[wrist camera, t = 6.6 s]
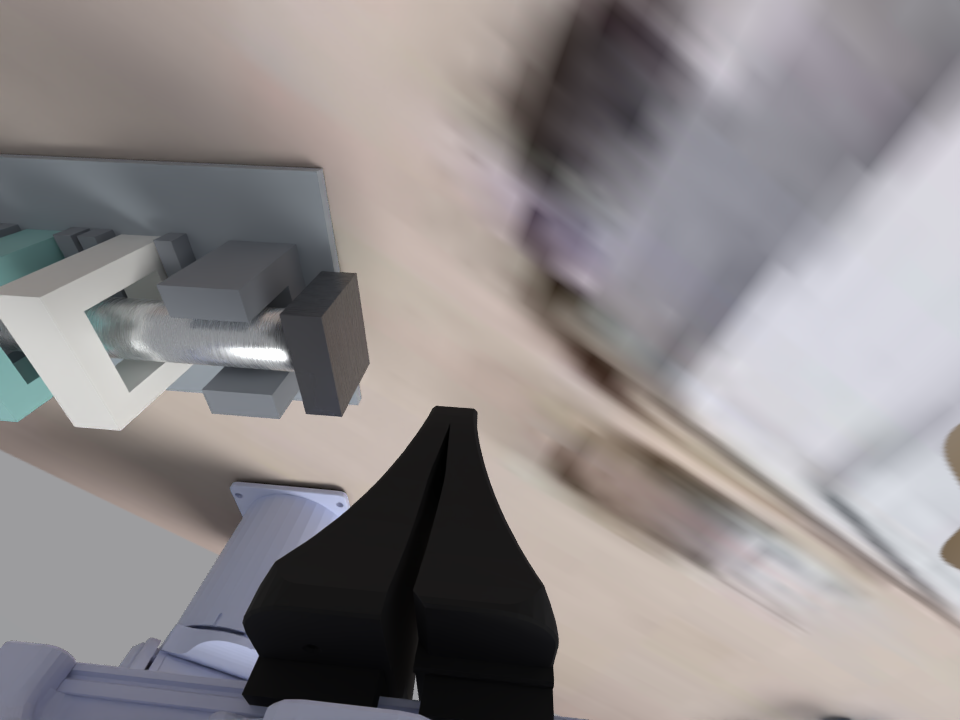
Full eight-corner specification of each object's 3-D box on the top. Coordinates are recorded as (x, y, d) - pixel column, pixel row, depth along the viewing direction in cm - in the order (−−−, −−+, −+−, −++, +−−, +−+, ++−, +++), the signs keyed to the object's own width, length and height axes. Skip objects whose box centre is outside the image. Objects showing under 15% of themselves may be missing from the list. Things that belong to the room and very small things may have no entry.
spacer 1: (126, 344, 23) (17, 421, 18) (91, 341, 23) (-28, 418, 18) (68, 231, 20) (-86, 289, 15) (26, 228, 20) (-141, 285, 15)
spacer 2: (209, 349, 23) (120, 430, 18) (172, 347, 23) (74, 426, 18) (164, 236, 19) (40, 297, 14) (121, 234, 19) (-17, 293, 14)
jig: (361, 398, 24) (326, 469, 20) (27, 372, 26) (-72, 435, 21) (322, 168, 18) (257, 203, 13) (-130, 147, 19) (-323, 174, 15)
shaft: (369, 363, 21) (341, 416, 18) (64, 341, 22) (-13, 388, 19) (356, 273, 18) (321, 317, 15) (10, 252, 19) (-90, 290, 16)
